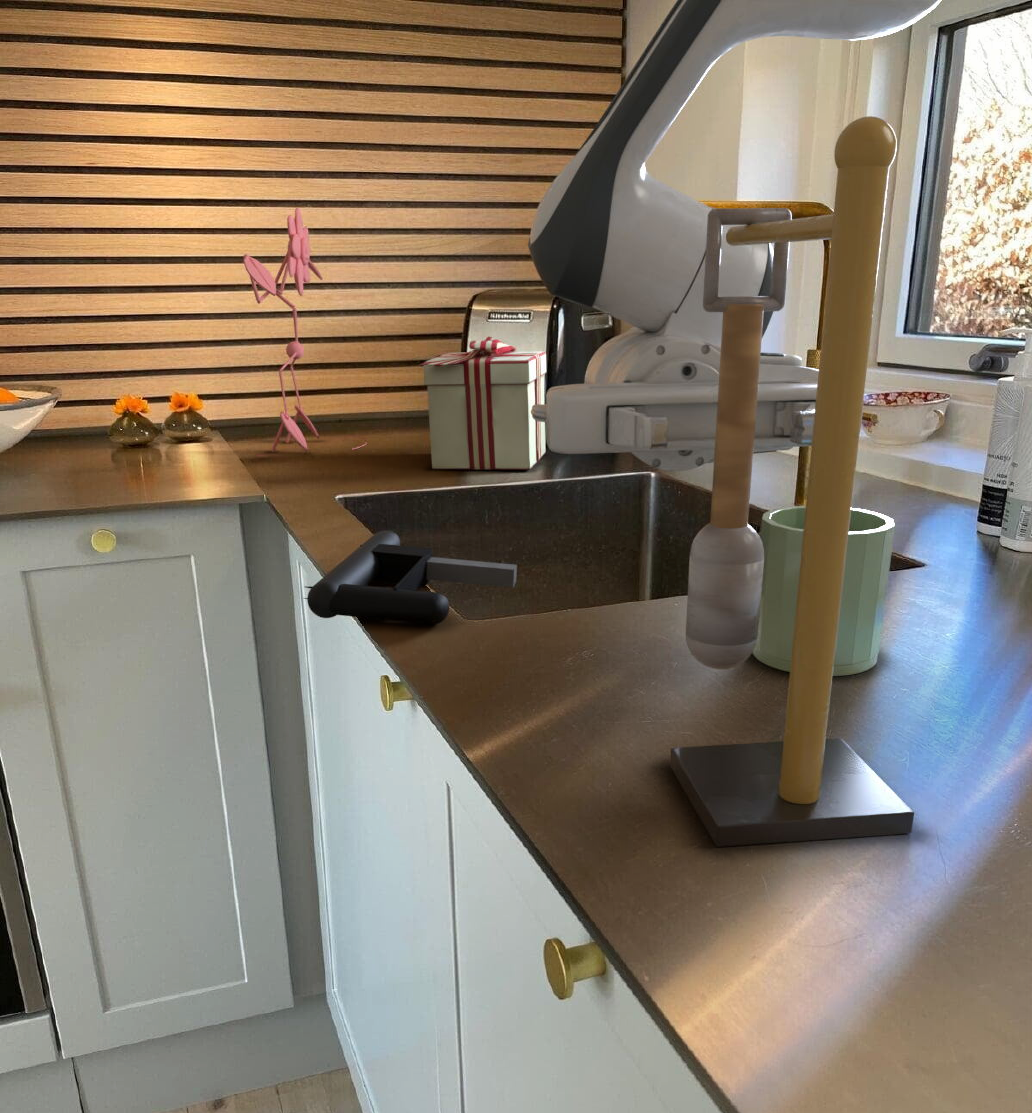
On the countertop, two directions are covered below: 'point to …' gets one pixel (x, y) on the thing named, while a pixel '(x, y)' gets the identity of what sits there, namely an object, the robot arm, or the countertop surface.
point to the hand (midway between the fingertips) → (735, 432)
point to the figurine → (300, 270)
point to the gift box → (486, 407)
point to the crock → (859, 588)
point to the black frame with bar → (398, 582)
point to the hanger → (816, 552)
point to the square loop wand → (732, 464)
